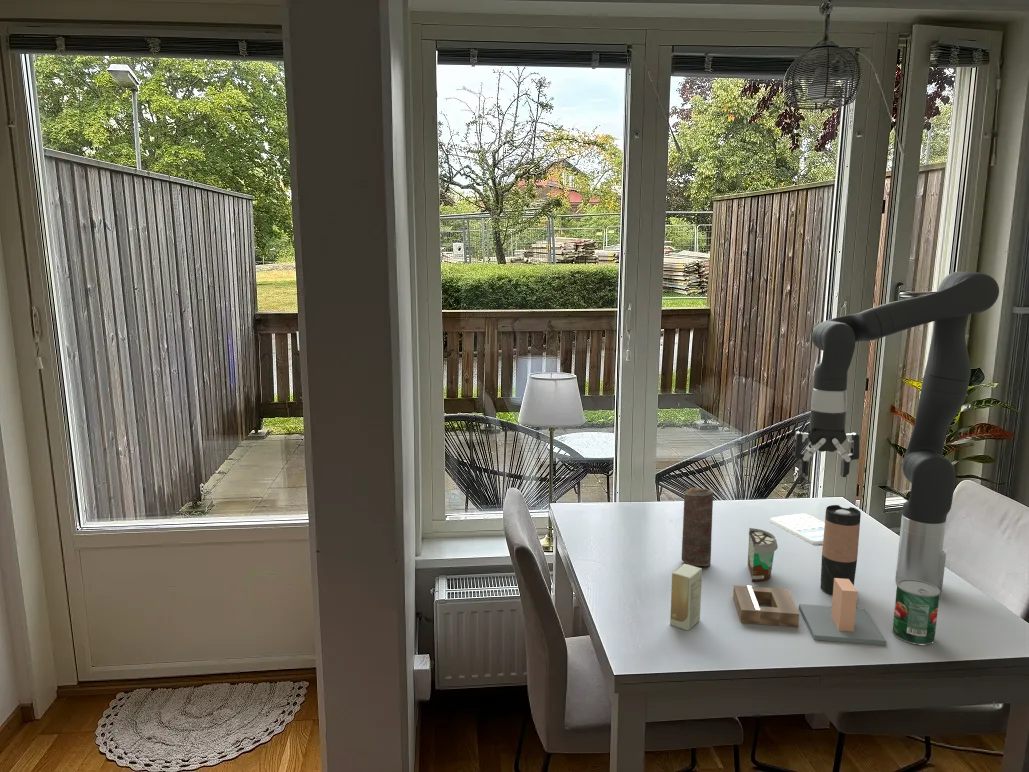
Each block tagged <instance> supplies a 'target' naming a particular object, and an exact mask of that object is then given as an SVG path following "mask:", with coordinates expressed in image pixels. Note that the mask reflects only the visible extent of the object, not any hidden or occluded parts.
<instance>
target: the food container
mask: <svg viewBox="0 0 1029 772" xmlns="http://www.w3.org/2000/svg"><path fill="white" fill-rule="evenodd" d="M748 529H749V531H748V552H747V553H748V554H747V570H748V573H749V577H750V579H751V582H752V583H760V582H766V581H768V580H770V579H771V577H772V571H773V570H772V569H773V563H774V557H775V551H777V550H778V541H777V539H776V536H775V535H774V534H773V533H771V532H770V531H766V530H763V529H758V528H755V527H754V528H752V527H749V528H748Z"/></svg>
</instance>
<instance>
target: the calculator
mask: <svg viewBox="0 0 1029 772" xmlns="http://www.w3.org/2000/svg"><path fill="white" fill-rule="evenodd" d="M769 521H770V523H772V524H773V525H776V526H778V527H779V528H780V529H783V530H785V531H786V532H788V531H789V532H788V533H790V532H791V533H790V534H792V533H793V534H792V535H794V536H796V537H798V538H800V539H801V540H803V539H804V540H803V541H805V540H806V541H805V542H807V541H808V543H809V544H811V545H814V546H819V544H820V545H823V537H824V526H825V521H822V520H821V519H818V518H816V517H814V516H811V515H810V514H807V513H806V512H805V513H803V512H802V513H794V514H786V515H780V516H774V517H773V516H771V518H770V519H769Z"/></svg>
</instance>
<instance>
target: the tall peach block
mask: <svg viewBox="0 0 1029 772" xmlns="http://www.w3.org/2000/svg"><path fill="white" fill-rule="evenodd" d="M831 598H832V601H831V606H832V610H831V618H832V619H833V621H834V623H835V625H836V626H837V628H838V630H839V631H853V632H854V625H855V614H856V608H857V603H858V590H857V588H856V587H855V585H854V586H853V584H852V583H851V581H850V580H849V579H841V578H834V586H833V595H832V597H831Z"/></svg>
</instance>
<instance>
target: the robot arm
mask: <svg viewBox="0 0 1029 772" xmlns="http://www.w3.org/2000/svg"><path fill="white" fill-rule="evenodd" d="M999 296H1000V287H999V284H998V282H997V280H995V278H994V277H992V276H990V275H989V274H986V273H982V272H977V271H976V272H975V271H953V272H951V273H949V274H947V275H946V276H945V277H944V278H943V279H942V280H941V282H940V284H939V286H938V288H937V292H934V293H930V294H926V295H921V296H917V297H911V298H906V299H900V300H896V301H891V302H887V303H884V304H880V305H878V306H874V307H871V308H869V309H865V310H863V311H861V312H857V313H853V314H847V315H843V316H837V317H835V318H834V317H833V318H830V319H826V320H824V321H822V322H820V323H818V324H817V325H816V326H815V327H814V328H813V331H812V333H811V341H812V344H813V345H814V347H816V348H817V349H818V350H821V351H823V352H822V357H821V362H820V363H818V364H817V365H816V366H815V369H814V374H813V389H812V395H811V403H810V404H811V405H810V419H809V430H808V431H807V432H801V431H799V430H796V431H794V436H793V446H792V455H793V456H794V457H795V458H796V459H799V460H800V467H799V470H800V473H801V474H802V475H803V477H808V476H809V468H810V467H809V463H810V461H809V459H810V458H811V457H812V456H813V455H815V454H816V453H817V452H818V451H819V452H821V453H822V452H823V453H824V452H830V453H834V452H836V451H837V453H838V454H839V455H840V457H841V458H842V459H841V460H840V462H841V463H840V474H839V475H840V476H841V477H842V478H847V476H848V475H849V474H850V468H851V467H850V465H851V462H852V461H853V460H857V461H858V460H859V459H860V435H859V434H858V433H857V432H855V431H852V432H851V433H846V421H847V420H846V419H847V418H846V417H847V409H848V395H847V393H848V391H847V389H848V388H847V386H848V372H849V368H850V366H851V363H852V359H853V357H854V353H855V348H856V343H857V342H871V341H875V340H878V339H882V338H884V337H888V336H891V335H894V334H897V333H900V332H903V331H907V330H909V329H912V328H915V327H918V326H922V325H925V324H929V323H933V329H932V335H931V339H930V344H929V345H930V346H929V349H928V356H927V361H926V365H925V368H924V374H923V377H922V381H921V382H922V383H921V387H920V394H919V398H918V404H917V408H916V409H917V410H916V414H915V420H914V424H913V429H912V432H911V436H910V439H909V442H908V444H907V447H906V449H905V450H906V451H905V453H904V456H903V460H902V467H901V469H902V472H903V476H904V478H905V479H907V481H908V482H909V483H910V484H911V486H910V492H909V493H910V494H909V499H908V500H906V501H905V502H903V505H902V512H901V520H900V530H899V531H900V532H899V541H898V550H897V562H896V571H895V579H894V580H895V583H896V584H897V582H898V581H900V580H903V579H915V580H920V581H924V582H928V583H930V584H933V585H934V586H936V587H937V588H939V590H940V592H943V586H944V578H945V577H944V576H945V568H946V558H947V553H946V552H945V551H944V543H945V534H946V533H945V532H946V524H947V517H948V514H949V513H950V510H951V509H952V505H953V499H954V493H955V486H956V469H955V467H954V465H953V463H952V462H951V461H950V460H949V459H947V458H946V457H944V456H943V454H944V446H945V441H946V437H947V436H946V435H947V433H948V430H949V428H950V427H951V426H950V425H951V424H952V422H953V421H954V419H955V418H956V417H957V415H958V413H959V412H960V410H961V409H962V407H963V405H964V403H965V401H966V397H967V394H968V389H969V385H970V381H971V377H972V376H971V374H972V373H971V372H972V368H971V360H970V355H969V351H968V346H967V341H966V331H967V330H966V329H967V325H968V321H969V316H970V315H975V314H980V313H983V312H985V311H987V310H989V309H991V308H992V307H993V306H994V305H995V303H996V302H997V300H998V299H999ZM806 439H808V440H809V443H808V444H807V445H806V447H805V449H804V450H803V451H802V445H803V443H804V442H805V440H806ZM846 440H847V441H848V442H849V443H850V451H849V453H847V451H846V450H845V449H844V447H843V446H842V445H843V443H845V441H846Z"/></svg>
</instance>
